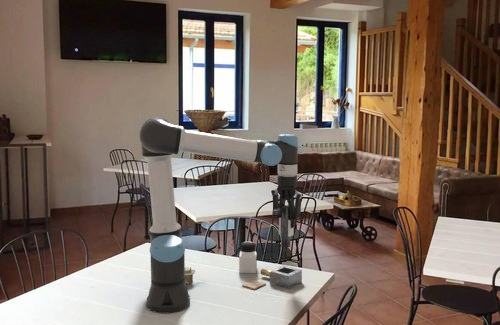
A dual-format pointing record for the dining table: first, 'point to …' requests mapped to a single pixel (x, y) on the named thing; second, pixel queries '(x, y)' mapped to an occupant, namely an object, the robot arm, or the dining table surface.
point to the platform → (189, 275)
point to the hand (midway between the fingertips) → (286, 234)
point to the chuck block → (284, 276)
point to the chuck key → (284, 225)
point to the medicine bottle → (247, 258)
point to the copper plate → (254, 284)
